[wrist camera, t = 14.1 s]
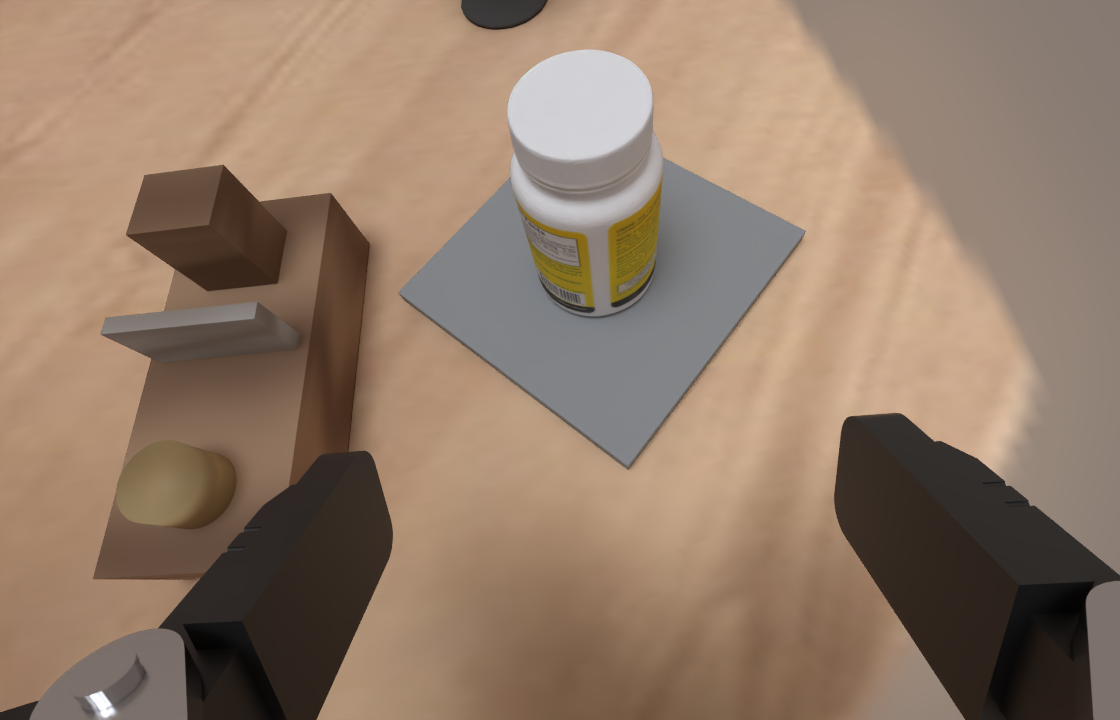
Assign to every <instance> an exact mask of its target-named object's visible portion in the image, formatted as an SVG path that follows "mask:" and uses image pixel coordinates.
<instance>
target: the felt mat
mask: <svg viewBox="0 0 1120 720" xmlns="http://www.w3.org/2000/svg"><path fill="white" fill-rule="evenodd" d="M805 232H806V231H805V230H803V229H801V228H799V227H797V226H795V225H793V224H791V223H789V222H787V221H785V220H784V219H782V218H780V217H778V216H776V215H774V214H772V213H770V212H768V211H766V210H764V209H762V208H760V207H758V206H756V205H754V204H752V203H750V202H748V201H747V200H745V199H743V198H741V197H739V196H737V195H735V194H733V193H731V192H729V191H727V190H725V189H723V188H721V187H719V186H717V185H715V184H713V183H711V182H710V181H708V180H706V179H704V178H702V177H700V176H698V175H696V174H694V173H692V172H690V171H688V170H686V169H684V168H682V167H680V166H678V165H676V164H674V163H672V162H671V161H669V160H667V159H665V158H663V180H662V190H661V203H660V215H659V227H658V239H657V251H656V263H655V269H654V274H653V278H652V280H651V283H650V285H649V287H648V288H647V290H646V291H645V293H644V294H643V295H642V296H641V297H640V298H639V299H638V300H637V301H636V302H635V303H633V304H632V305H631V306H629V307H627V308H625V309H623V310H621V311H618V312H616V313H613V314H609V315H604V316H582V315H578V314H574V313H572V312H569V311H567V310H565V309H563V308H561V307H560V306H558V305H557V304H556V303H555V302H554V301H553V300H552V299H551V298H550V297H549V296H548V295H547V293H546V292H545V290H544V288H543V286H542V284H541V282H540V279H539V275H538V272H537V269H536V266H535V262H534V259H533V256H532V252H531V249H530V246H529V242H528V239H527V236H526V233H525V230H524V226H523V223H522V220H521V216H520V213H519V209H518V206H517V203H516V200H515V196H514V193H513V189H512V184H511V177H510V178H509V179H508V180H507V181H506V182H505V183H504V184H503V185H502V186H501V187H500V188H499V189H498V190H497V192H496V193H495V194H494V195H493V196H492V197H491V198H490V199H489V200H488V201H487V202H486V203H485V204H484V205H483V206H482V207H481V208H480V209H479V210H478V211H477V212H476V213H475V214H474V215H473V216H472V217H471V218H470V219H469V220H468V221H467V222H466V223H465V224H464V225H463V227H462V228H461V229H460V230H459V231H458V232H457V233H456V234H455V235H454V236H453V237H452V238H451V239H450V240H449V241H448V242H447V243H446V244H445V245H444V246H443V247H442V248H441V249H440V250H439V251H438V252H437V253H436V254H435V255H434V256H433V257H432V258H431V259H430V260H429V261H428V263H427V264H426V265H425V266H424V267H423V268H422V269H421V270H420V271H419V272H418V273H417V274H416V275H415V276H414V277H413V278H412V279H411V280H410V281H409V282H408V283H407V284H406V285H405V286H404V287H403V288H402V289H401V290H400V291H399V292H398V293H399V294H400V296H401V297H402V298H403V299H404V300H405V301H406V302H407V303H409V304H410V305H411V306H413V307H414V308H415V309H417V310H418V311H419V312H421V313H422V314H423V315H425V316H426V317H427V318H429V319H430V320H431V321H433V322H434V323H435V324H436V325H438V326H439V327H440V328H442V329H443V330H444V331H446V332H447V333H448V334H450V335H451V336H452V337H454V338H455V339H456V340H458V341H459V342H460V343H462V344H463V345H464V346H466V347H467V348H468V349H469V350H471V351H472V352H473V353H475V354H476V355H477V356H479V357H480V358H481V359H483V360H484V361H485V362H487V363H488V364H489V365H491V366H492V367H493V368H495V369H496V370H497V371H499V372H500V373H501V374H502V375H504V376H505V377H506V378H508V379H509V380H510V381H512V382H513V383H514V384H516V385H517V386H518V387H520V388H521V389H522V390H524V391H525V392H526V393H528V394H529V395H530V396H532V397H533V398H534V399H535V400H537V401H538V402H539V403H541V404H542V405H543V406H545V407H546V408H547V409H549V410H550V411H551V412H553V413H554V414H555V415H557V416H558V417H559V418H561V419H562V420H563V421H565V422H566V423H567V424H568V425H570V426H571V427H572V428H574V429H575V430H576V431H578V432H579V433H580V434H582V435H583V436H584V437H586V438H587V439H588V440H590V441H591V442H592V443H594V444H595V445H596V446H598V447H599V448H600V449H601V450H603V451H604V452H605V453H607V454H608V455H609V456H611V457H612V458H613V459H615V460H616V461H617V462H619V463H620V464H621V465H623V466H624V467H625V468H627V469H629V468H630V466H631V465H632V464H633V462H634V461H635V460H636V458H637V457H638V456H639V454H640V453H641V452H642V450H643V449H644V448H645V446H646V445H647V444H648V442H649V441H650V440H651V438H652V437H653V436H654V434H655V433H656V432H657V431H658V429H659V428H660V427H661V425H662V424H663V423H664V421H665V420H666V419H667V417H668V416H669V415H670V413H671V412H672V411H673V409H674V408H675V407H676V405H677V404H678V403H679V401H680V400H681V399H682V397H683V396H684V395H685V393H686V392H687V391H688V389H689V388H690V387H691V385H692V384H693V383H694V381H695V380H696V379H697V378H698V376H699V375H700V374H701V372H702V371H703V370H704V368H705V367H706V366H707V364H708V363H709V362H710V360H711V359H712V358H713V356H714V355H715V354H716V352H717V351H718V350H719V348H720V347H721V346H722V344H723V343H724V342H725V340H726V339H727V338H728V336H729V335H730V334H731V332H732V331H733V330H734V328H735V327H736V326H737V325H738V323H739V322H740V321H741V319H742V318H743V317H744V315H745V314H746V313H747V311H748V310H749V309H750V307H751V306H752V305H753V303H754V302H755V301H756V299H757V298H758V297H759V295H760V294H761V293H762V291H763V290H764V289H765V287H766V286H767V285H768V283H769V282H770V281H771V279H772V278H773V277H774V275H775V274H776V273H777V271H778V270H779V269H780V268H781V266H782V265H783V264H784V262H785V261H786V260H787V258H788V257H789V256H790V254H791V253H792V252H793V250H794V249H795V248H796V246H797V245H798V244H799V242H800V241H801V240H802V238H803V236H804V234H805Z"/></svg>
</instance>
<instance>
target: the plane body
mask: <svg viewBox="0 0 1120 720" xmlns="http://www.w3.org/2000/svg"><path fill="white" fill-rule="evenodd" d="M126 235H127V236H128V237H130V238H131V239H132V240H134V241H135V242H137V243H138V244H140V245H141V246H143V247H144V248H145V249H147V250H148V251H150V252H151V253H153V254H154V255H156V256H157V257H158V258H160V259H161V260H163V261H164V262H166V263H167V264H169V265H170V266H171V267H173V268H174V269H175V272H174V275H173V279H172V283H171V287H170V290H169V294H168V298H167V302H166V306H165V309H164V312H154V313H145V314H135V315H126V316H117V317H107V318H105V321H104V324H103V327H102V331H101V334H100V335H103V336H105V337H107V338H109V339H111V340H113V341H115V342H118V343H120V344H122V345H124V346H126V347H128V348H130V349H132V350H135V351H137V352H139V353H141V354H143V355H145V356H147V357H149V358H151V362H150V366H149V370H148V373H147V377H146V381H145V385H144V389H143V392H142V396H141V400H140V404H139V407H138V411H137V415H136V419H135V423H134V426H133V430H132V434H131V438H130V441H129V445H128V449H127V453H126V456H125V460H124V464H123V468H122V472H121V475H120V478H119V481H118V484H117V489H116V494H115V498H114V502H113V506H112V509H111V513H110V517H109V521H108V524H107V528H106V532H105V536H104V540H103V543H102V547H101V551H100V555H99V558H98V562H97V566H96V570H95V573H94V577H93V579H163V580H181V579H198V578H201V577H202V576H203V575H204V574H205V573H206V572H207V570H208V569H209V568H210V567H211V566H212V565H213V563H214V562H215V561H216V560H217V559H218V558H219V556H220V555H221V554H222V553H225V552H227V547H228V546H229V545H230V544H231V542H232V541H233V540H234V539H235V538H236V537H237V535H238V534H239V533H241V532H244V527H245V526H246V525H247V524H248V522H249V521H250V520H251V519H252V518H253V517H254V515H255V514H256V513H257V512H258V511H259V510H260V508H261V507H262V506H263V505H264V504H265V503H267V502H268V501H270V500H271V499H272V498H274V497H275V496H277V495H278V494H279V493H281V492H282V491H284V490H285V489H286V488H288V487H289V486H291V485H296V484H297V482H298V481H299V480H300V479H301V477H302V476H303V475H304V474H305V473H306V471H307V470H308V469H309V468H310V466H311V465H312V464H313V463H314V461H315V460H316V459H317V458H318V457H319V456H320V455H322V454H329V453H343V452H348V445H349V435H350V426H351V416H352V407H353V397H354V387H355V378H356V368H357V358H358V349H359V339H360V329H361V320H362V310H363V301H364V291H365V281H366V272H367V262H368V252H369V242H368V241H367V240H366V239H365V237H364V236H363V235H362V233H361V232H360V231H359V229H358V228H357V227H356V225H355V224H354V223H353V221H352V220H351V219H350V218H349V216H348V215H347V214H346V212H345V211H344V210H343V208H342V207H341V206H340V204H339V203H338V202H337V200H336V199H335V198H334V196H333V195H332V194H331V193H327V194H319V195H311V196H302V197H294V198H286V199H278V200H270V201H262V202H259V201H258V200H257V199H256V198H255V197H254V196H253V195H252V194H251V193H250V192H249V191H248V190H247V189H246V188H245V187H244V186H243V185H242V184H241V183H240V182H239V180H238V179H237V178H236V177H235V176H234V175H233V174H232V173H231V172H230V171H229V170H228V169H227V168H226V167H225V166H224V165H219V166H211V167H204V168H196V169H188V170H180V171H173V172H165V173H157V174H150V175H145V176H144V179H143V182H142V185H141V188H140V192H139V195H138V198H137V201H136V204H135V207H134V211H133V214H132V217H131V220H130V223H129V226H128V230H127V233H126Z"/></svg>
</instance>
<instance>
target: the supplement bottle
mask: <svg viewBox="0 0 1120 720" xmlns="http://www.w3.org/2000/svg"><path fill="white" fill-rule="evenodd" d="M507 119H508V125H509V129H510V134H511V139H512V145H513V149H514V152H513V156H512V160H511V166H510V176H511V184H512V189H513V193H514V196H515V200H516V203H517V206H518V209H519V213H520V216H521V220H522V223H523V226H524V230H525V233H526V236H527V239H528V242H529V246H530V249H531V252H532V256H533V259H534V262H535V266H536V269H537V272H538V275H539V279H540V282H541V284H542V286H543V288H544V290H545V292H546V293H547V295H548V296H549V297H550V298H551V299H552V300H553V301H554V302H555V303H556V304H557V305H558V306H560V307H561V308H563V309H565V310H567V311H569V312H572V313H574V314H578V315H582V316H604V315H609V314H613V313H616V312H618V311H621V310H623V309H625V308H627V307H629V306H631V305H632V304H633V303H635V302H636V301H637V300H638V299H639V298H640V297H641V296H642V295H643V294H644V293H645V291H646V290H647V288H648V287H649V285H650V283H651V280H652V278H653V274H654V269H655V263H656V251H657V239H658V227H659V215H660V203H661V190H662V180H663V155H662V149H661V146H660V143H659V140H658V138H657V136H656V134H655V133H654V131H653V93H652V89H651V86H650V83H649V81H648V79H647V77H646V76H645V74H644V73H643V72H642V71H641V70H640V68H639V67H638V66H636V65H635V64H634V63H632V62H631V61H629V60H628V59H626V58H624V57H622V56H619V55H617V54H614V53H611V52H606V51H600V50H577V51H570V52H565V53H562V54H558V55H555V56H553V57H550V58H548V59H546V60H544V61H542V62H540V63H539V64H537V65H536V66H534V67H533V68H532V69H530V70H529V71H528V72H527V73H526V74H525V75H524V76H523V77H522V78H521V79H520V80H519V81H518V83H517V84H516V85H515V87H514V89H513V91H512V93H511V95H510V98H509V102H508V108H507Z"/></svg>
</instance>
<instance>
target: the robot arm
mask: <svg viewBox="0 0 1120 720" xmlns="http://www.w3.org/2000/svg"><path fill="white" fill-rule="evenodd" d="M834 503H835V510H836V515H837V519H838V522H839V525H840V528H841V530H842V532H843V534H844V535H845V537H846V539H847V540H848V542H849V543H850V545H851V546H852V548H853V549H854V551H855V552H856V554H857V555H858V557H859V558H860V560H861V561H862V563H863V564H864V566H865V567H866V569H867V571H868V572H869V574H870V575H871V577H872V578H873V580H874V581H875V583H876V584H877V586H878V587H879V589H880V590H881V592H882V593H883V595H884V596H885V598H886V599H887V601H888V603H889V604H890V606H891V607H892V609H893V610H894V612H895V613H896V615H897V616H898V618H899V619H900V621H901V622H902V624H903V625H904V627H905V628H906V630H907V631H908V633H909V635H910V636H911V638H912V639H913V641H914V642H915V644H916V645H917V647H918V648H919V650H920V651H921V653H922V654H923V656H924V657H925V659H926V660H927V662H928V663H929V665H930V666H931V668H932V670H933V671H934V673H935V674H936V676H937V677H938V679H939V680H940V682H941V683H942V685H943V686H944V688H945V689H946V691H947V692H948V694H949V695H950V697H951V698H952V700H953V702H954V703H955V705H956V706H957V708H958V709H959V711H960V712H961V714H962V715H963V717H964V718H965V720H1120V575H1119V574H1117V573H1116V572H1115V571H1114V570H1112V569H1111V568H1110V567H1109V566H1108V565H1106V564H1105V563H1104V562H1103V561H1102V560H1100V559H1099V558H1098V557H1097V556H1095V555H1094V554H1093V553H1092V552H1090V551H1089V550H1088V549H1087V548H1086V547H1084V546H1083V545H1082V544H1081V543H1079V542H1078V541H1077V540H1076V539H1075V538H1073V537H1072V536H1071V535H1070V534H1069V533H1067V532H1066V531H1065V530H1064V529H1063V528H1061V527H1060V526H1059V525H1058V524H1056V523H1055V522H1054V521H1053V520H1051V519H1050V518H1049V517H1048V516H1046V515H1045V514H1044V513H1043V512H1042V511H1041V510H1039V509H1038V508H1037V507H1036V506H1030V505H1029V503H1028V500H1027V499H1026V498H1025V497H1023V496H1022V495H1021V494H1020V493H1019V492H1017V491H1016V490H1015V489H1014V488H1013V487H1011V486H1006V485H1005V481H1004V480H1003V479H1002V478H1000V477H999V476H998V475H997V474H995V473H994V472H993V471H992V470H991V469H989V468H988V467H987V466H986V465H984V464H983V463H982V462H981V461H980V460H978V459H977V458H975V457H973V456H971V455H969V454H966V453H964V452H962V451H960V450H958V449H956V448H954V447H952V446H950V445H948V444H946V443H944V442H942V441H936V442H934V441H933V440H932V439H931V438H930V437H929V436H927V435H926V434H925V433H924V432H923V431H922V430H920V429H919V428H918V427H917V426H916V425H915V424H914V423H912V422H911V421H910V420H909V419H908V418H907V417H905V416H904V415H902V414H900V413H890V414H876V415H863V416H850V417H848V418H846V420H845V421H844V423H843V426H842V431H841V439H840V448H839V457H838V466H837V475H836V484H835V494H834ZM392 541H393V530H392V523H391V519H390V515H389V512H388V508H387V504H386V501H385V497H384V494H383V490H382V487H381V483H380V480H379V476H378V473H377V469H376V465H375V462H374V460H373V458H372V456H371V454H370V453H369V452H367V451H356V452H343V453H329V454H322V455H320V456H319V457H318V458H317V459H316V460H315V461H314V463H313V464H312V465H311V466H310V468H309V469H308V470H307V471H306V473H305V474H304V475H303V476H302V477H301V479H300V480H299V481H298V482H297V484H296V485H291V486H289V487H288V488H286V489H285V490H284V491H282V492H281V493H279V494H278V495H277V496H275V497H274V498H272V499H271V500H270V501H268V502H267V503H265V504H264V505H263V506H262V507H261V508H260V510H259V511H258V512H257V513H256V514H255V515H254V517H253V518H252V519H251V520H250V521H249V522H248V524H247V525H246V526H245V527H244V532H241V533H239V534H238V535H237V537H236V538H235V539H234V540H233V541H232V542H231V544H230V545H229V546H228V547H227V552H225V553H222V554H221V555H220V556H219V558H218V559H217V560H216V561H215V562H214V563H213V565H212V566H211V567H210V568H209V569H208V570H207V572H206V573H205V574H204V575H203V576H202V577H201V579H200V580H199V581H198V582H197V583H196V585H195V586H194V587H193V588H192V589H191V590H190V592H189V593H188V594H187V595H186V596H185V597H184V599H183V600H182V601H181V602H180V603H179V604H178V606H177V607H176V608H175V609H174V610H173V611H172V613H171V614H170V615H169V616H168V617H167V618H166V620H165V621H164V622H163V623H162V624H161V625H160V627H159V628H158V629H149V630H144V631H139V632H136V633H133V634H130V635H127V636H124V637H122V638H120V639H117V640H115V641H113V642H111V643H109V644H107V645H105V646H103V647H101V648H100V649H98V650H96V651H95V652H93V653H91V654H90V655H88V656H87V657H85V658H84V659H82V660H81V661H79V662H78V663H77V664H75V665H74V666H73V667H72V668H70V669H69V670H68V671H67V672H65V673H64V674H63V675H62V676H61V677H60V678H59V679H58V680H57V681H56V682H55V683H54V684H53V685H52V686H51V687H50V688H49V689H48V690H47V691H46V693H45V694H44V695H43V697H42V698H41V699H40V700H39V701H36V702H32V703H29V704H26V705H23V706H20V707H16V708H13V709H10V710H7V711H3V712H0V720H316V719H317V717H318V715H319V713H320V710H321V708H322V706H323V704H324V702H325V699H326V697H327V695H328V693H329V691H330V688H331V686H332V684H333V682H334V679H335V677H336V675H337V673H338V671H339V668H340V666H341V664H342V662H343V660H344V657H345V655H346V653H347V651H348V648H349V646H350V644H351V642H352V640H353V637H354V635H355V633H356V631H357V628H358V626H359V624H360V622H361V620H362V617H363V615H364V613H365V611H366V609H367V606H368V604H369V602H370V600H371V597H372V595H373V593H374V591H375V589H376V586H377V584H378V582H379V580H380V577H381V575H382V573H383V571H384V569H385V566H386V564H387V562H388V560H389V557H390V553H391V549H392Z"/></svg>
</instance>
